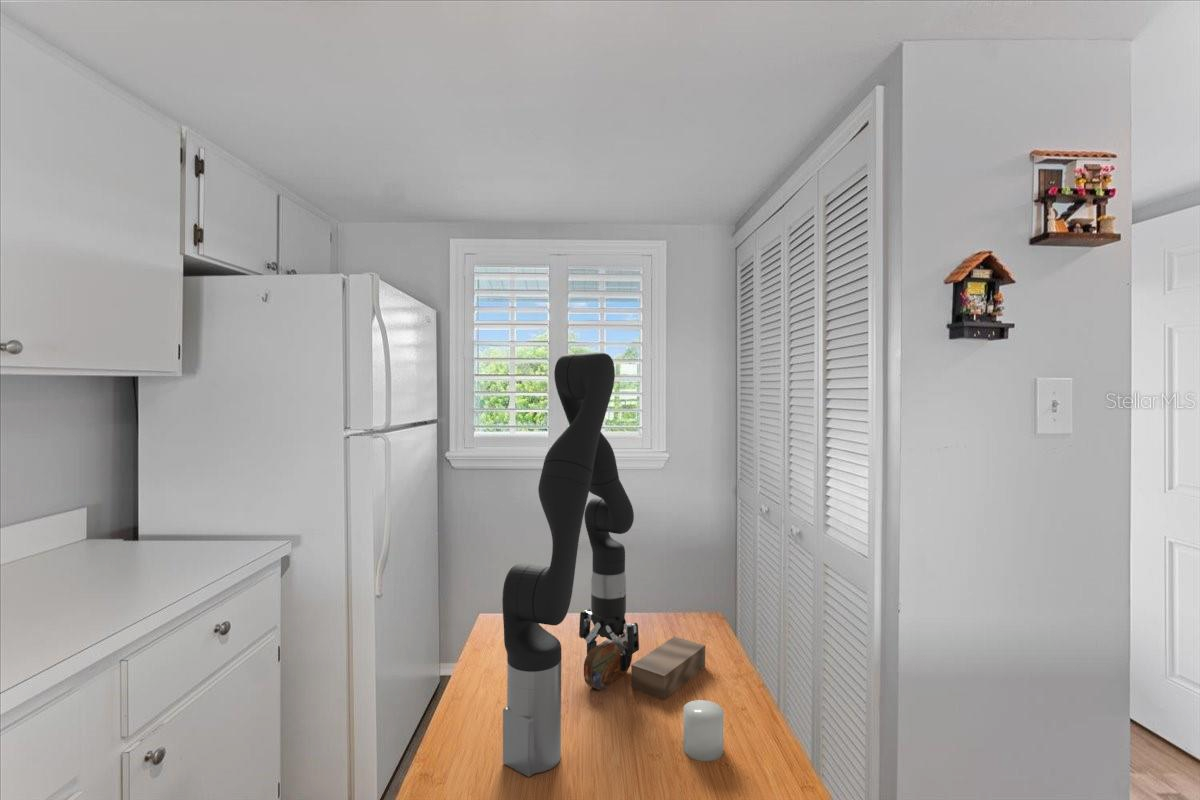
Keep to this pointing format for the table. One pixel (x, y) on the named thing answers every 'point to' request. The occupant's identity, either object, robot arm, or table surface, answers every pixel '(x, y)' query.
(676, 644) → the brown rectangular block
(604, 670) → the tin
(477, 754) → the table surface
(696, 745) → the white rounded capsule
